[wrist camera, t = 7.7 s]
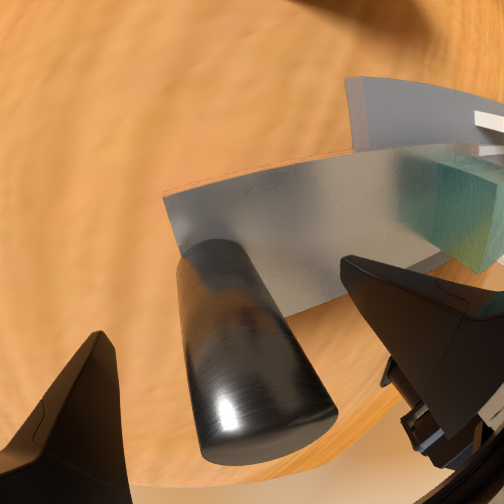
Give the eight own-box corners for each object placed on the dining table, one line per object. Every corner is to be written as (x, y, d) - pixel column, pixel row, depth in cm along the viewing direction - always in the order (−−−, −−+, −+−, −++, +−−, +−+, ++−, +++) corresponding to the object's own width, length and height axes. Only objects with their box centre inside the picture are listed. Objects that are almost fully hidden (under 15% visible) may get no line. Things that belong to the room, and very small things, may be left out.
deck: (503, 216, 22) (514, 223, 21) (354, 291, 18) (370, 308, 17) (509, 108, 15) (523, 111, 14) (344, 78, 11) (369, 75, 10)
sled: (462, 231, 16) (537, 281, 9) (201, 332, 13) (239, 484, 6) (470, 140, 12) (564, 175, 6) (150, 195, 9) (114, 368, 3)
